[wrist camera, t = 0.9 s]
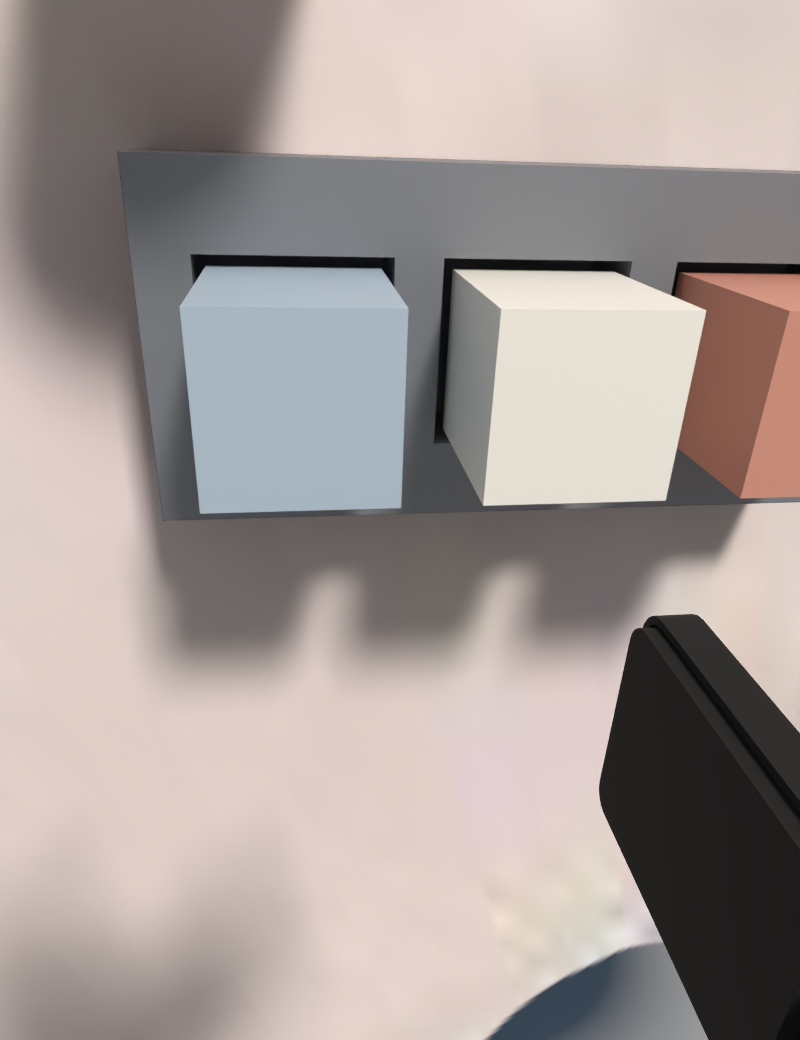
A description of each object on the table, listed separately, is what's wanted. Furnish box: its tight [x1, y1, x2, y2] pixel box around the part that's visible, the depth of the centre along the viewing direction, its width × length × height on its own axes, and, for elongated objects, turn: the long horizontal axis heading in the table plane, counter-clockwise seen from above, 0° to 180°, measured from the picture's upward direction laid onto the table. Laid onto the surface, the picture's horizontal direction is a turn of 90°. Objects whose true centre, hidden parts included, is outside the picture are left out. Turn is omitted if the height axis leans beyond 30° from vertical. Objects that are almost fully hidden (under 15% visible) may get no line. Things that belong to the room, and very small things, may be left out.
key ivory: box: [443, 269, 706, 506], centre depth 24 cm, size 6×6×6 cm
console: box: [117, 149, 800, 521], centre depth 28 cm, size 26×12×4 cm, turn 89°
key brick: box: [675, 272, 800, 499], centre depth 25 cm, size 6×6×6 cm
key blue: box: [180, 265, 408, 514], centre depth 23 cm, size 6×6×6 cm
